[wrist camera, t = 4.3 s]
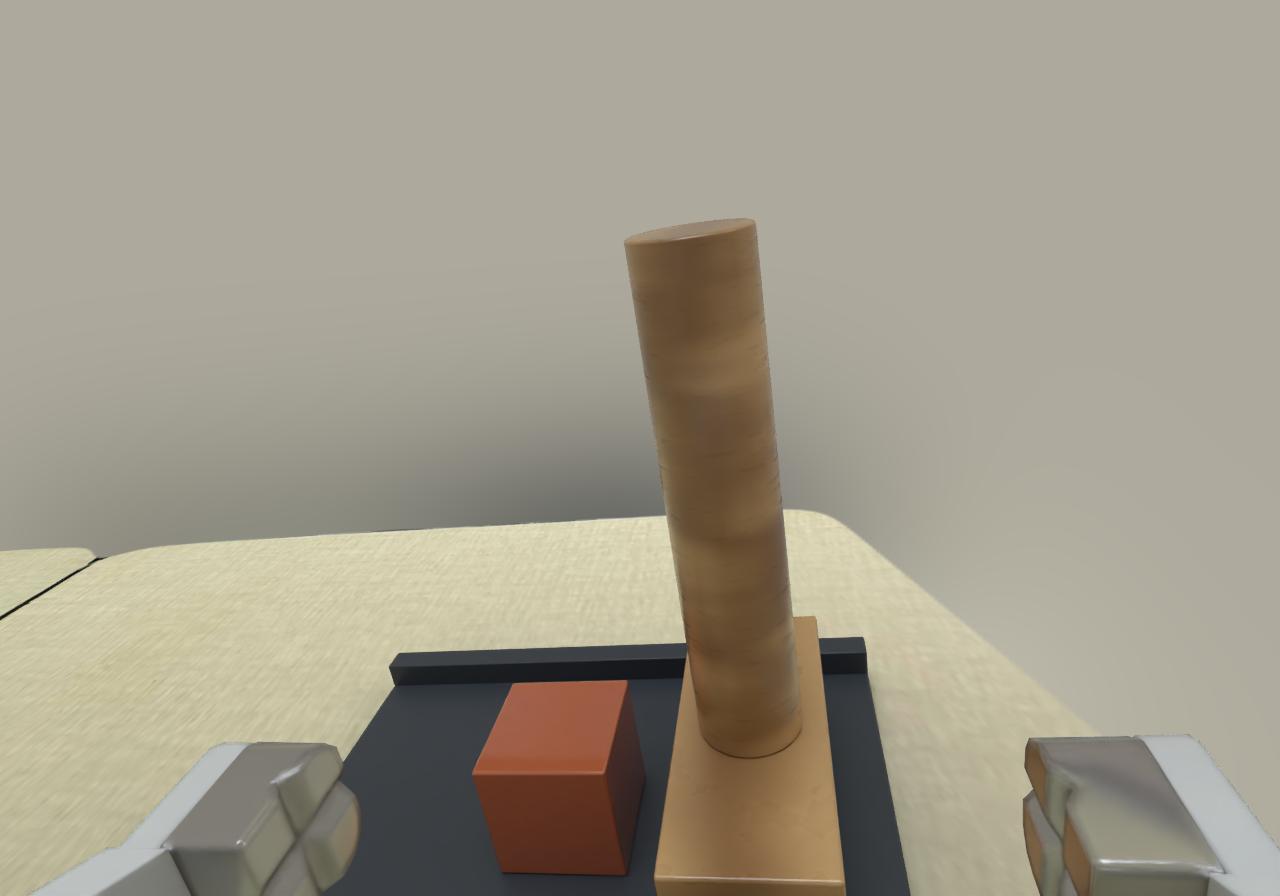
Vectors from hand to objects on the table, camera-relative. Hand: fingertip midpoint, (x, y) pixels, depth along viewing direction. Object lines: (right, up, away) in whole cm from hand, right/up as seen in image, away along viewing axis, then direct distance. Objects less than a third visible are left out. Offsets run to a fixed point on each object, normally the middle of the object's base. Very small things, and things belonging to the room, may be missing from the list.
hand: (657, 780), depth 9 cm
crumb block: (-2, -8, +16) cm, 18 cm away
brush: (+4, -8, +15) cm, 17 cm away
